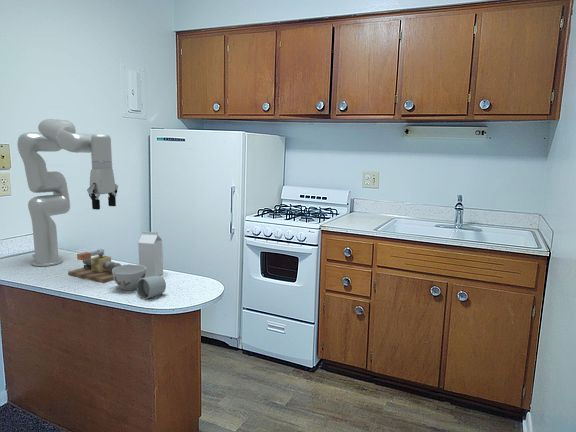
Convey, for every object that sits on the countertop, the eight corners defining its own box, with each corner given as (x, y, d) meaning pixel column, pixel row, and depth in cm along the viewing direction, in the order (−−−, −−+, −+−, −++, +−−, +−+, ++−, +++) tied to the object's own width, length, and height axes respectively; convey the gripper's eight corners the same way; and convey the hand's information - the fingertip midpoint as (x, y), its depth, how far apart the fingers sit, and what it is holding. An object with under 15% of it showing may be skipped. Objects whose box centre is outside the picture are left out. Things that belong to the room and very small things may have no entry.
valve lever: (101, 253, 184) (101, 248, 183) (105, 254, 182) (105, 249, 182) (77, 259, 173) (76, 254, 173) (81, 260, 172) (81, 255, 172)
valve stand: (68, 274, 181) (66, 255, 180) (100, 265, 195) (99, 247, 194) (103, 283, 171) (102, 262, 170) (134, 272, 185) (133, 254, 184)
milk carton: (155, 278, 178) (153, 234, 175) (139, 277, 179) (137, 233, 176) (163, 273, 185) (161, 230, 182) (148, 272, 186) (146, 229, 183)
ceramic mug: (168, 294, 158) (167, 274, 157) (150, 301, 152) (149, 280, 150) (149, 289, 164) (148, 270, 163) (131, 295, 157) (129, 275, 156)
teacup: (129, 295, 157) (128, 274, 156) (105, 290, 163) (104, 270, 161) (158, 284, 170) (157, 265, 169) (135, 279, 176) (134, 261, 175)
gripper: (108, 164, 180) (110, 204, 183) (78, 166, 163) (81, 210, 166) (123, 165, 178) (125, 205, 181) (95, 166, 162) (97, 211, 164)
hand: (104, 207), depth 174 cm, fingers open, 9 cm apart
